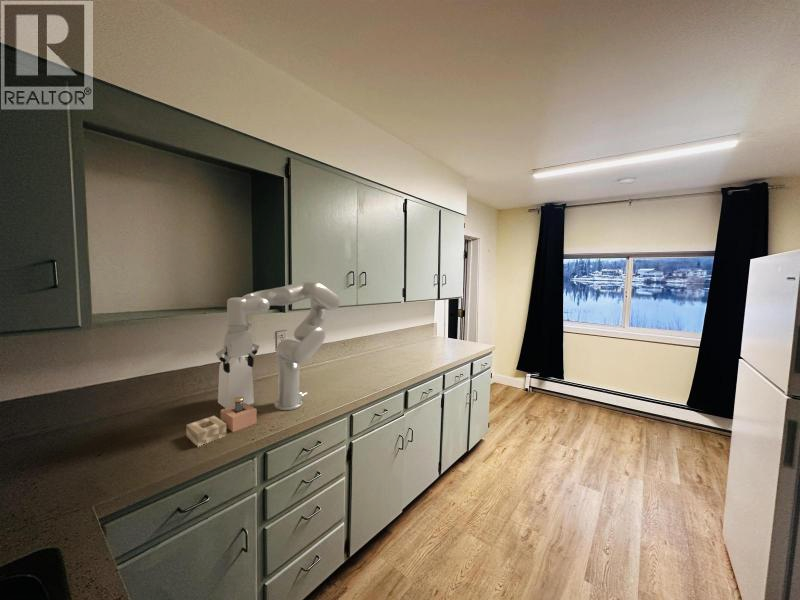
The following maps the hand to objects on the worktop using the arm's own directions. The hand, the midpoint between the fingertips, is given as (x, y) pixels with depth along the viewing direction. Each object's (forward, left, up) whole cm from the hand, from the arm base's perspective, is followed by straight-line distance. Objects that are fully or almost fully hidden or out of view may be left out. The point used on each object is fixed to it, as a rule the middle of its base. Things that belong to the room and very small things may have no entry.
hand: (239, 369), depth 133 cm
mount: (+13, +1, -23) cm, 27 cm away
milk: (-9, -20, -24) cm, 32 cm away
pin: (0, 0, -23) cm, 23 cm away
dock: (0, 0, -23) cm, 23 cm away
